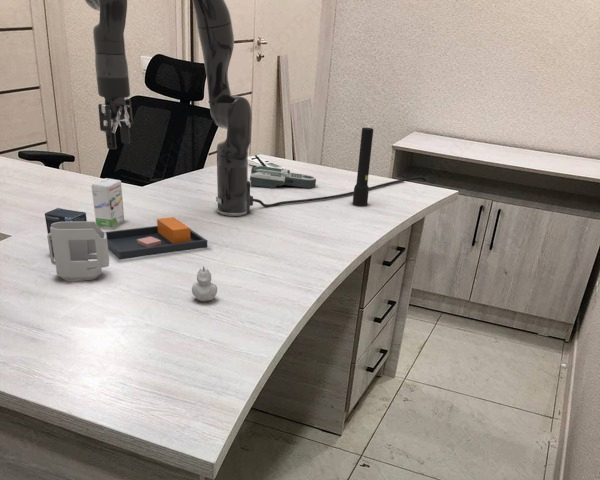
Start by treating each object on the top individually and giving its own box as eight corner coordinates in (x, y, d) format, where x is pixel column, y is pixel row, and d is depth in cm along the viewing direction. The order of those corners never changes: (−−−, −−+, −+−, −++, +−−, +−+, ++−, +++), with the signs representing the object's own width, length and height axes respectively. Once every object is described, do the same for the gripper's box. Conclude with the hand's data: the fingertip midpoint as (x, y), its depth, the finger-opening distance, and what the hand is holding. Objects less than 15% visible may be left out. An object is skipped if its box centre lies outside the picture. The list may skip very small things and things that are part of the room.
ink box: (111, 229, 174) (107, 186, 168) (95, 227, 175) (90, 184, 169) (125, 221, 181) (121, 179, 175) (109, 219, 182) (105, 177, 176)
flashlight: (349, 203, 212) (360, 207, 209) (356, 127, 199) (368, 129, 196) (359, 201, 215) (370, 205, 212) (367, 126, 202) (378, 129, 199)
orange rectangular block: (174, 233, 172) (173, 216, 170) (191, 245, 165) (190, 228, 162) (157, 235, 170) (156, 218, 167) (173, 247, 162) (172, 230, 160)
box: (50, 256, 154) (43, 212, 148) (64, 249, 158) (58, 207, 153) (78, 260, 152) (72, 217, 146) (91, 253, 157) (86, 211, 151)
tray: (181, 231, 176) (181, 222, 175) (207, 249, 164) (207, 240, 163) (98, 241, 165) (97, 232, 163) (120, 261, 153) (119, 252, 152)
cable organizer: (110, 281, 142) (104, 228, 136) (52, 282, 139) (44, 229, 133) (110, 270, 148) (105, 220, 141) (55, 272, 145) (47, 220, 139)
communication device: (315, 191, 224) (317, 166, 219) (249, 187, 223) (250, 161, 219) (315, 183, 234) (317, 159, 229) (252, 179, 234) (252, 154, 229)
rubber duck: (190, 304, 134) (189, 268, 130) (194, 292, 139) (193, 257, 135) (215, 305, 134) (215, 269, 130) (218, 293, 140) (218, 259, 135)
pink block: (151, 239, 166) (150, 236, 166) (161, 244, 164) (161, 240, 163) (136, 243, 164) (136, 239, 163) (147, 247, 161) (147, 243, 161)
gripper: (114, 78, 144) (121, 152, 152) (138, 73, 156) (143, 142, 164) (84, 76, 144) (92, 149, 153) (110, 71, 156) (116, 140, 165)
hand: (119, 146), depth 159 cm, fingers open, 8 cm apart
